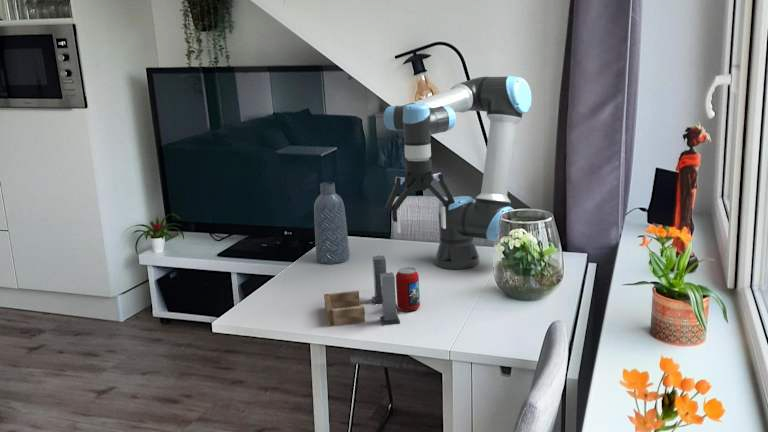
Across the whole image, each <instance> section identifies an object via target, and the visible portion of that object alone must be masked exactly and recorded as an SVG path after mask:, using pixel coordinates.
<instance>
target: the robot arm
mask: <svg viewBox="0 0 768 432" xmlns="http://www.w3.org/2000/svg"><path fill="white" fill-rule="evenodd" d="M531 104H532V91H531V88H530V86H529V84H528V82H527V81H526V80H525V79H524V78H522V77H518V76H511V75H509V76H479V77H476V78H471V79H468V80H466V81H465V80H464V81H461V82H460V83H456V84H455V85H453V86H452V87H451V88H450V89H449V90H445V91H443V92H439V93H436V94H434V95H431V96H427V97H425V98H422V99H420V100H416V101H413V102H409V103H407V104H403V105H396V104H395V105H390V106H387V107H386V109H385V110H384V113H383V124H384V127H386V128H387V129H388V130H391V131H395V132H403V136H404V137H403V138H404V140H403V141H404V144H403V145H404V158H405V162H404V164H405V166H404V167H405V176H404V177H403V176H402V177H401V176H398V175H396V176H394V185H393V187H392V190H391V192H389V193H390V194H389V196H388V198H387V201H386V203H385V205H384V207H385V209H386V210H388V211H390V212H391V219H392V222H394V223H395V231H396V232H397V234H401V231H402V230H401V214H400V213H401V212H400V210H399V209H400V207H401V206H402V204H403V203H404V202H405V200H406V198H408V196H409V195H410V194H411V193H412V192H413V191H414V192H420V191H426V190H427V189H428V190H429V191H430V192H431V193H432V194H433V195H434V196H435V197H436V198H437V200H439V204H438V213H437V214H438V224H439V228H438V229H439V245H438V248H437V251H436V255H435V265H436V266H437V267H439V268H442V269H446V270H464V269H465V270H467V269H470V268H473V267H476V266H478V265H479V264H480V255H479V252H478V250H477V247H476V244H475V241H474V238H475V239H481V240H488V241H492V242H494V241H495V242H498V241H497V234H498V227H499V220H500V216H501V213H503V212H506V211H511V210H515V209H514V208H513V207H511V203H512V202H511V200H510V199H509V197H508V192H509V191H508V190H509V183H510V176H511V175H510V174H511V169H512V160H513V154H514V144H515V138H516V131H517V124H518V123H520V122H521V121H522V118H523V114H524V115H525V114H526V113H528V111H529V110H530V108H531V106H532V105H531ZM466 112H486V117H487V118H488V121H489V129H488V130H489V131H488V137H487V145H486V153H485V160H484V168H483V176H482V183H481V184H482V185H481V191H480V194H478V195H477V196H476V197H475V201H474V199H473V197H472V196H468V195H462V196H460V195H459V196H454V197H453V195H452V194H451V192H450V190H449V189H448V188H449V187H448V186H447V185H446V182H445V181H444V175H443V174H442V173H441V172H440V171H439V172H437V173H434V174H433V170H432V159H431V157H432V150H431V149H432V148H431V146H432V145H431V144H432V143H431V135H437V134H440V133H445V132H448V131H450V130H452V129H453V128H454V127H455V125H456V122H457V115H456V113H466ZM434 180H435V181H436V182H438V184H439V186H440V188H441V189H442V191H443V193H444V195H445V197H446V198H444V196H443V195H441V194H440V192H439V191H437V189H436V188H435V187H434V186H433V185H432V184H431V183H432V182H433V181H434ZM404 182H405V183H406V186H405V187H404V189H403V191H402V192H401V193H400V194H399V196H398V198H396V197H397V195H398V193H399V190H400V187H401V185H403V183H404ZM395 199H396V200H395ZM473 201H474V202H473Z"/></svg>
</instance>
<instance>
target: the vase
mask: <svg viewBox="0 0 768 432" xmlns="http://www.w3.org/2000/svg"><path fill="white" fill-rule="evenodd" d="M319 186H320V188H319V189H320V194H319V195H318V196H317V198H316V199H315V202H314V205H313V214H314V215H313V216H314V217H313V218H314V219H313V220H314V222H313V223H314V237H315V238H314V239H315V241H314V243H315V259H316V261H317V262H318V263H320V264H325V265H334V264H335V265H337V264H340V263H343V262H346V261H348V260H349V259H350V247H349V246H350V244H349V237H348V227H347V218H346V208H345V204H344V201H343V199H342V197H341V196H340V195H339V194H337V193H336V187H335V182H331V181H328V182H321V183H320V184H319Z"/></svg>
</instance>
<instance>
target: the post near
mask: <svg viewBox="0 0 768 432" xmlns="http://www.w3.org/2000/svg"><path fill="white" fill-rule="evenodd" d="M380 277H381V294H382V304H381V306H382V315H380V316H379V320H380V323H381V325H382V326H389V325H390V326H391V325H398V324H401V321H400V318H399V316H398V313H397V294H396V276H395V275H394V273H393V272H386V273H381V274H380Z"/></svg>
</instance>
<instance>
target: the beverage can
mask: <svg viewBox="0 0 768 432" xmlns="http://www.w3.org/2000/svg"><path fill="white" fill-rule="evenodd" d="M395 291H396V307H397V308H398V309H399V310H401V311H403V312H413V311H416V310H417V309H418V308H420V306H421V298H420V297H421V295H420V278H419V273H418V271H417V269H416V268H415V267H410V266H408V267H407V266H406V267H401V268H398V270H397V273H396V274H395Z"/></svg>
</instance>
